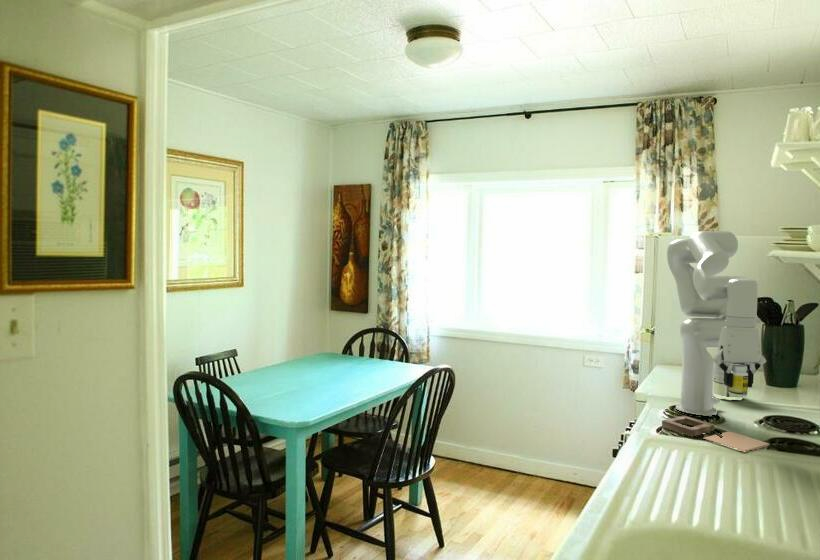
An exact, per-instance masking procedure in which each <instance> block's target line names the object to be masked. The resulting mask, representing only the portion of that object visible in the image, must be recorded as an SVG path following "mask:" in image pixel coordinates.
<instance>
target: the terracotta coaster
mask: <svg viewBox="0 0 820 560" xmlns="http://www.w3.org/2000/svg"><path fill="white" fill-rule="evenodd" d="M721 433H722V434H721V435H722V436H723V437H722V438H720V437H719V436H717V435H716V434H712V435H710V436H704V437H703V439H706V440H709V441H713V442H716V443H719V444H723V445H726V446H729V447H732V448H737V449H738V450H741V451H743V452H744V451H748V450H752V451H756V450H759V449H763V448H767V447H769V446H770V443H768V442H765V441H762V440H760V439H756V438H754V437H753V438H752V437H749V436H745V435H743V434H738V433H735V432H732V431H725V432H721ZM703 439H702V440H703ZM706 440H705V441H706ZM709 441H708V442H709ZM768 445H769V446H768ZM755 449H756V450H755Z"/></svg>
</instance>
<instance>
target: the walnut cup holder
mask: <svg viewBox="0 0 820 560" xmlns="http://www.w3.org/2000/svg"><path fill="white" fill-rule="evenodd" d="M682 424H689V425H694V427H690V426H687V425H682ZM661 428H662V429H665V428H666V429H665V430H668V429H670V430H669V431H671V430H673V431H672V432H674V431H676V432H675V433H677V432H679V433H678V434H680V433H683V434H686V435H688V436H687V437H689V436H691V437H690V438H694V437H693V436H696V435H699V434H701V433H705V432H708V431H711V430H716V429H715V428H716V427H715V424H713V423H711V422H706V421H703V420H701V419H697V418H693V417H690V416H687V415H681V416H676V417H672V418H667V419H663V420H661ZM683 434H682V435H683ZM686 435H685V436H686ZM696 437H697V436H696Z"/></svg>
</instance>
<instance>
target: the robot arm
mask: <svg viewBox="0 0 820 560" xmlns="http://www.w3.org/2000/svg"><path fill="white" fill-rule="evenodd" d="M738 248H739V241H738V238H737V237H736V235H735V234H734V233H733V232H731V231H728V230H701V231H697V232H694V233H693V234H691V235H690V237H688V238H679V239H675V240H673V241H671V242H670V243H669V244H668V245H667V250H666V259H667V264H668V266H669V269H670V271H671V274H672V276H673V279H674V280H675V285H676V290H677V293H678V300H679V305H680V310H681V312H682V314H683V315H685V316H687V317H690V318H688V319H685V320H684V321H682V323H681V324H680V326H679V327H680V329H679V332H680V339H681V348H682V349H681V352H682V356H681V357H682V358H681V360H682V361H681V387H680V388H681V391H680V403H678V404H676V405H675V410H676V409H677V410H679V411H682V412H686V413H691V414H696V415H703V416H709V417H713V416H712V415H715V416H716V415H718V410H717V408H715V407H714V405H717V404H719V403H720V402H721V400H720V399H719V398H714V397H713V372H714V363H716V364H717V365H718V366H719V367H720V368H721V369H722V370H723V371H724V383H725V385H726V386H728V387H732V386H733V374H732V373H731V370H732V367H733V364H734V363H745V365H746V366H747V371H746V372H747V373H748V388H753V385H754V375H755V374H756V373H757V371H758V370H759V368H760V367H761V366H763V365H764V364H765V363H767V359H766V358H765V357H764V355H763V354H762V353H761V352H762V351H761V350H762V347H761V346H762V345H761V336H760V331H759V328H758V327H757V326H758V324H761V322H762V320H761V318H759V317H758V315H757V313H758V292H759V284H758V281H756V280H755V279H751V278H747V277H746V276H737V275H734V276H731V275H718V274H720V273H721V272H723V271H725V269H726V268H727V267H728V265H729V262H730V259H731V257H733V256H735V254H736V253H737V251H738ZM691 264H696V265H695V267H693V266H692V265H691ZM707 348H717V354H715V356H714V357H713V356H712V355H711V354H710V353H709V351H708V350H707ZM720 360H725V361H724V364H723V363H722V362H721V361H720ZM677 410H676V411H677ZM679 411H678V412H679Z"/></svg>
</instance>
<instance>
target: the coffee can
mask: <svg viewBox="0 0 820 560" xmlns="http://www.w3.org/2000/svg"><path fill="white" fill-rule="evenodd" d="M720 361H721V362H722V363H723V364H724V361H725V360H720ZM734 364H741V365H745V363H734ZM731 371H732V370H731ZM713 393H714V394H717V395H721V396H726V397H742V396H734V395H730V394H729V387H728V386H726V385H725V383H724V371H723V370H722V369H721V368H720V367H719V366H718V365H717V364H716V363H714V372H713Z"/></svg>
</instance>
